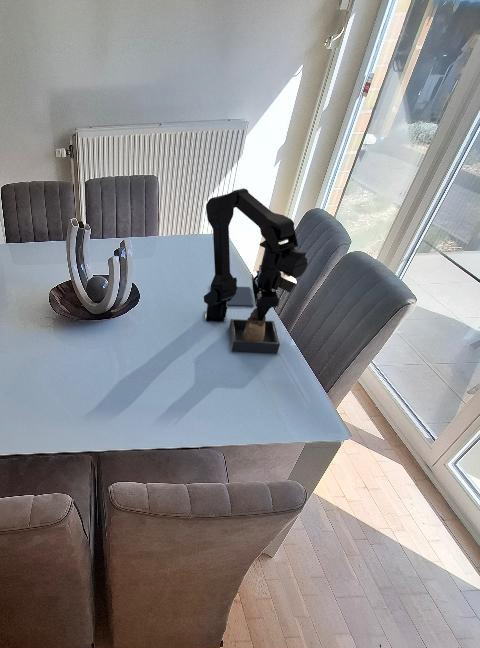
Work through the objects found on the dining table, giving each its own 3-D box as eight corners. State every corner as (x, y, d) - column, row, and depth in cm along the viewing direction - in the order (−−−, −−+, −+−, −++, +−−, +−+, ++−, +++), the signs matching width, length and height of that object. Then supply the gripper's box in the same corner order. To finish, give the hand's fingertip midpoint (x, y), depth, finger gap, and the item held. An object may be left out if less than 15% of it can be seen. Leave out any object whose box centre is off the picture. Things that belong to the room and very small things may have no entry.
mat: (212, 304, 174) (212, 303, 173) (210, 286, 184) (211, 285, 183) (252, 306, 172) (252, 305, 172) (249, 288, 182) (249, 287, 182)
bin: (231, 351, 151) (233, 341, 149) (228, 329, 161) (230, 318, 158) (276, 354, 150) (280, 343, 147) (271, 331, 160) (274, 320, 157)
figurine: (255, 333, 158) (263, 300, 150) (267, 343, 154) (276, 310, 145) (237, 337, 157) (244, 304, 148) (248, 347, 152) (256, 314, 143)
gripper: (304, 280, 130) (288, 329, 141) (294, 253, 142) (280, 300, 154) (263, 278, 131) (251, 327, 142) (257, 252, 143) (246, 299, 155)
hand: (258, 313), depth 148 cm, fingers open, 9 cm apart
